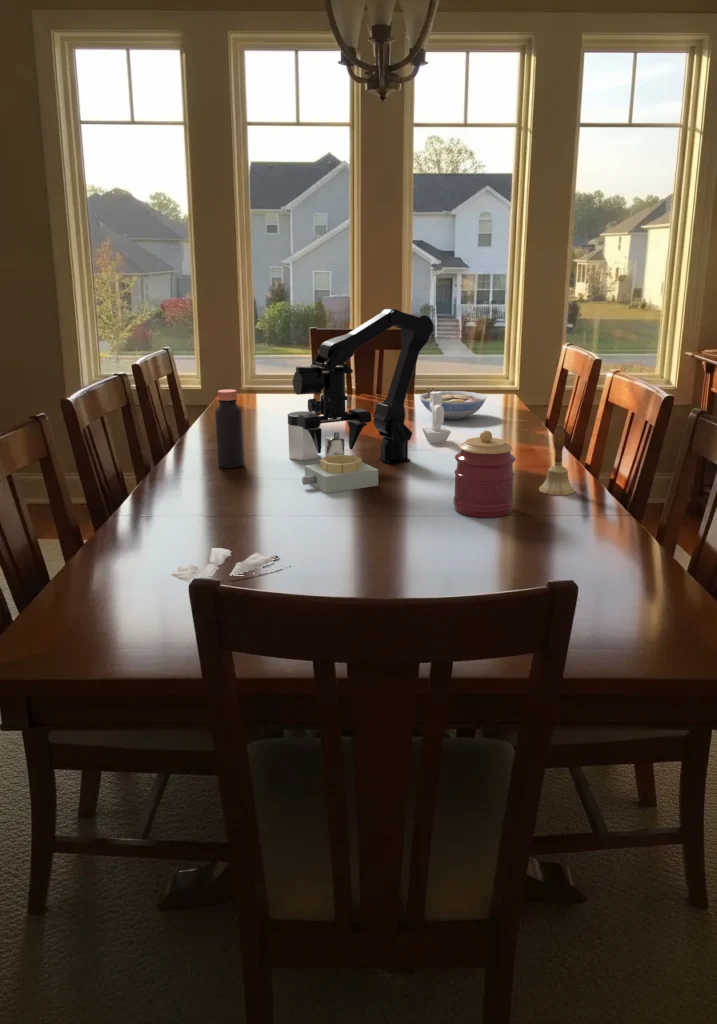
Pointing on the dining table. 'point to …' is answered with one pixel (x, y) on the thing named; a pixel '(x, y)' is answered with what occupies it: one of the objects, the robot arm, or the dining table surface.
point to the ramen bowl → (456, 403)
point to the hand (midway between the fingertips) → (335, 451)
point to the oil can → (334, 445)
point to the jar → (300, 439)
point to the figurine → (436, 421)
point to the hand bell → (557, 469)
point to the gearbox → (340, 474)
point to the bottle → (229, 430)
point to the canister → (484, 477)
